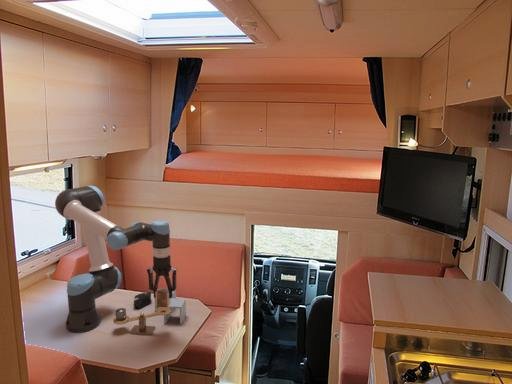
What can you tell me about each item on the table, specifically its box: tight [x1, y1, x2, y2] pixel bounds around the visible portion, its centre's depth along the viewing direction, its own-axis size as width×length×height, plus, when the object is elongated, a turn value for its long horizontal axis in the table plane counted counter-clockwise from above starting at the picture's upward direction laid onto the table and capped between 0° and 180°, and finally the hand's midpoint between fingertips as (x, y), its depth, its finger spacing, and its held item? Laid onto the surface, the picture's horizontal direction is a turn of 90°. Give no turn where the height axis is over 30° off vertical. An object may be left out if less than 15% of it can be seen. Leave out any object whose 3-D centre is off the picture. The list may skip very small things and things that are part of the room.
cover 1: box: [154, 287, 177, 314], centre depth 208 cm, size 9×9×9 cm
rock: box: [133, 291, 152, 309], centre depth 212 cm, size 9×10×6 cm
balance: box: [113, 307, 172, 336], centre depth 186 cm, size 27×7×11 cm, turn 86°
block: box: [157, 287, 168, 307], centre depth 183 cm, size 4×4×7 cm
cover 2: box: [163, 297, 187, 325], centre depth 197 cm, size 9×9×9 cm
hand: (163, 304), depth 183 cm, fingers closed on block, 4 cm apart
